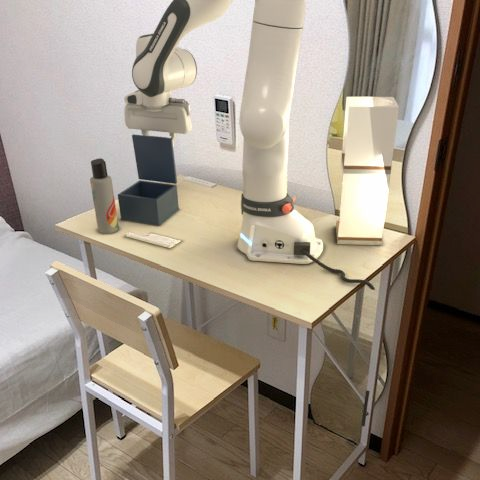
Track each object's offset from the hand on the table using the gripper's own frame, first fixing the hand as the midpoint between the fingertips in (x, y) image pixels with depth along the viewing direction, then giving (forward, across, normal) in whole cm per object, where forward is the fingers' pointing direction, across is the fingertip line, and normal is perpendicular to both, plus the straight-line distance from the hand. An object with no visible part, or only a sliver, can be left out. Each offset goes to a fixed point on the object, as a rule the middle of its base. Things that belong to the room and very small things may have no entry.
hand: (160, 146), depth 171 cm
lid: (+3, 0, +4) cm, 5 cm away
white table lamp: (+18, -61, +4) cm, 64 cm away
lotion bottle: (+18, +6, +23) cm, 30 cm away
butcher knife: (+18, -9, +25) cm, 32 cm away
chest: (+18, 0, +10) cm, 20 cm away
